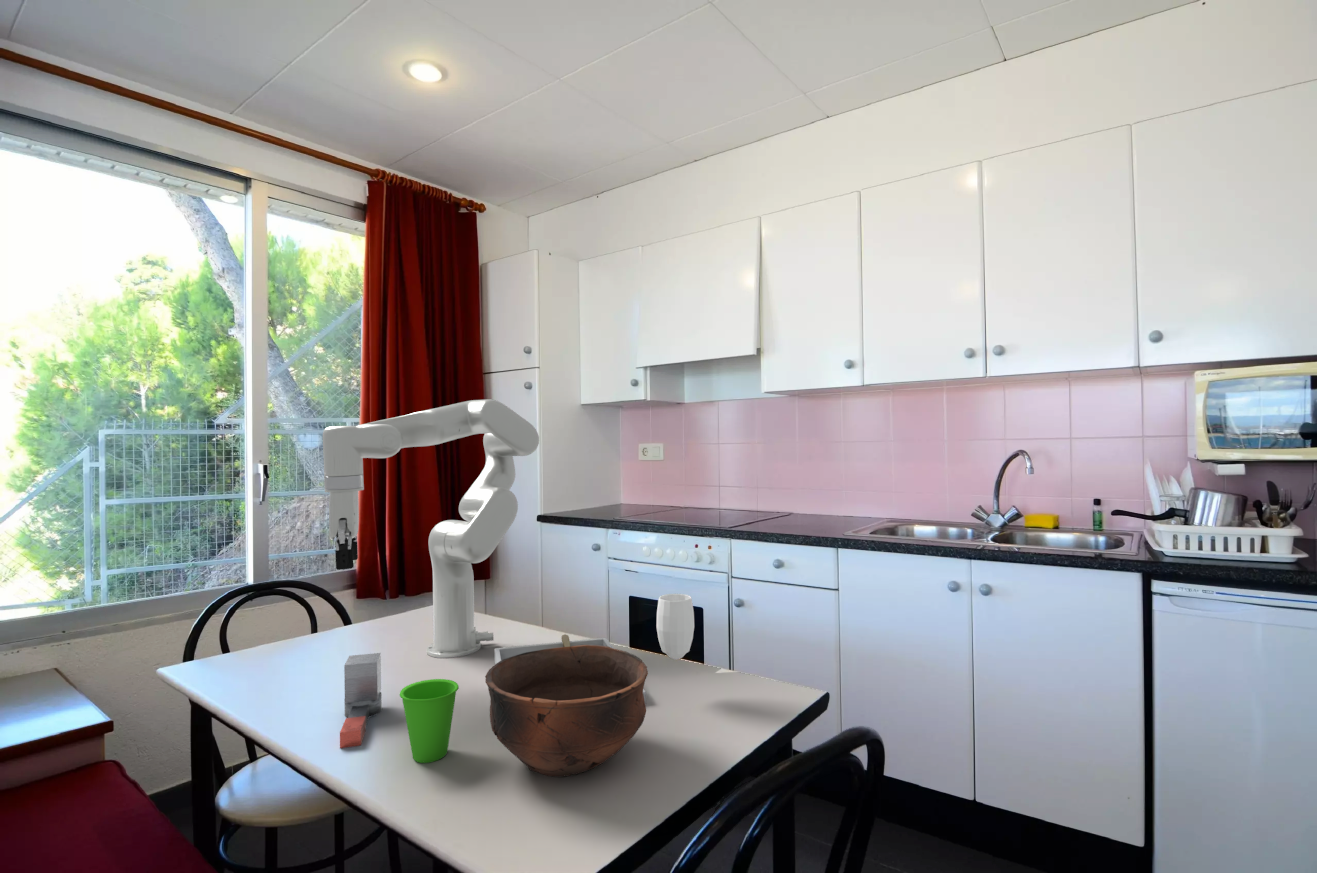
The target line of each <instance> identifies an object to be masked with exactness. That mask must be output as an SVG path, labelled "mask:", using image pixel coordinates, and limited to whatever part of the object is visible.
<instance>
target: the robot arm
mask: <svg viewBox="0 0 1317 873" xmlns="http://www.w3.org/2000/svg"><path fill="white" fill-rule="evenodd" d="M479 434H484V435H483V437H482V438H483V439H482V442H483V448H484V449H483V450H484V454H485V464H484V467H483V469H482V470H481V472H480V474H479V475H478V477H477V478H476V479H475V480H474V481H473V483H472V484H471V485H470V487H469V488H468V490H467V491H466V492H465V493H464V495H462V497H461V499H460V501H459V505H458V513H459V515H460V517H461V518H462V519H463V520H458V519H447V520H443V521H440V522H438V523H437V524H435V525H434V527H433V528H432V529H431V531H430V533H429V536H428V551H429V552H428V553H429V556H430V561H431V568H432V616H433V617H432V619H433V620H432V622H433V623H432V626H433V628H432V629H433V632H432V634H433V640H432V641H433V642H432V643H430V644H429V645H428V646H427V647H426V654H427V655H428V656H430V657H432V658H437V659H438V658H440V659H449V658H458V657H459V658H460V657H463V656H466V655H470V654H474V653H475V652H478V650H480V649H481V647H482V643H481V642H491V641H494V632H489V631H488V630H487V631H478V630H477V631H476V626H475V592H474V591H475V590H474V589H475V588H474V587H475V586H474V585H475V581H474V578H475V577H474V570H473V565H472V564H479V563H481V562H483V561H485V560H487V559H488V558H489V557H490V556H491V555H492V553H493V552H494V551H495V549H496V548H497V547H498V545H499V544H500V542H501V541H502V540H503V538H504V536H505V535H506V533H507V532H508V531H509V529H510V528H511V526H512V524H513V523H514V522H515V520H516V517H517V513H518V509H519V508H518V507H519V506H518V505H519V504H518V503H519V502H518V500H517V496H516V495H515V494H514V493H513V491H511V487H512V486H513V485H514V482H515V479H516V467H515V461H514V457H526V456H529V455H531V454H533V453H534V452H535V451H536V450H537V449H538V447H539V444H540V436H539V433H538V430H537V428H535V427H534V425H533V424H532V423H530V422H529V421H528V420H526V419H525V418H524V417H522V416H521V415H520V414H518V413H517V412H516V411H514V410H513V409H511V408H510V407H508V406H507V405H506V404H504V403H502V402H500V401H498V400H496V399H490V398H488V399H486V398H485V399H473V400H472V399H471V400H466V401H461V402H457V403H452V404H449V405H443V406H439V407H435V408H429V409H425V410H421V411H416V412H412V413H409V414H405V415H399V416H395V417H390V418H385V419H380V420H376V421H375V420H374V421H371V422H367V423H362V424H358V425H336V426H335V425H333V426H331V425H330V426H328V427H327V426H326V428H324V429H323V432H322V449H323V450H322V451H323V453H322V454H323V455H322V456H323V474H324V478H323V479H324V480H323V481H324V492H325V493H329V500H328V504H329V506H328V510H329V511H328V512H329V513H328V515H329V516H328V517H329V522H328V525H329V526H328V527H329V529H328V530H329V532H328V534H329V536H328V537H329V538H328V539H330V540H331V541H334V540H335V538H336V540H335V541H336V542H335V550H334V552H335V569H336V570H338V571H339V570H350V569H351V570H352V569H353V568H354V561H356V560H358V558H359V557H358V556H359V554H358V552H359V550H358V540H357V534H358V532H359V524H360V523H359V522H360V519H359V518H360V516H359V515H360V514H359V511H360V510H359V507H360V506H359V492H360V491H364V490H365V484H364V460H363V459H367V458H368V459H387V458H392V457H393V456H395V455H396V454H397V453H399V452H400V450H401V449H404V448H413V447H414V448H417V447H430V446H435V445H436V446H437V445H440V444H443V443H447V442H451V441H455V440H457V439H463V438H465V437H469V436H473V435H479Z"/></svg>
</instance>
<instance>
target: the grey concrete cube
mask: <svg viewBox="0 0 1317 873" xmlns="http://www.w3.org/2000/svg"><path fill="white" fill-rule="evenodd" d="M381 653H382V652H377V653H375V652H374V653H364V654H355V655H349V656H348V657H347V659H346V661H345V664H344V665H343V667H344V670H343V672H344V699H345V703H352V702H360V701H369V700H378V697H379V694H380V692H382V654H381ZM345 703H344V704H345Z"/></svg>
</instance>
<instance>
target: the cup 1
mask: <svg viewBox="0 0 1317 873" xmlns="http://www.w3.org/2000/svg"><path fill="white" fill-rule="evenodd" d="M459 687H460V686H459V684H458V683H457V681H454V680H450V679H446V678H445V679H443V678H435V679H424V680H420V681H416V682H413V683H410V684H408V685H406V686H404V687H403V688H402V689H401V690H400V691H399V697H400V698H401V699H402V704H403V705H402V706H403V710H404V715H405V721H406V726H407V733H408V738H409V742H410V750H411V755H412V758H413V760H414V761H415V762H416V763H420V764H429V763H433V762H438V761H439V760H442V758H444V757H445V756H446V755H447V753H448V749H449V743H450V737H451V728H452V721H453V713H454V710H455V709H454V708H455V700H456V695H457V691H458V690H459V689H460V688H459Z"/></svg>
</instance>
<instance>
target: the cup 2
mask: <svg viewBox="0 0 1317 873" xmlns="http://www.w3.org/2000/svg"><path fill="white" fill-rule="evenodd" d="M655 626H656V632H657V638H658V642H659V646H660V648H661V649H660V650H661V651H662V653H664V654H666V655H667V657H669V658H670V659H672V660H679V659H682V658H684V656H685V655H686V654H687V653H689V652H690V651H691V650H690V649H691V646H692V643H693V639H694V631H695V611H694V606H693V598H692V596H690V595H689V594H685V593H666V594H663V595H660V596H659V597H658V600H657V609H656V625H655Z"/></svg>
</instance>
